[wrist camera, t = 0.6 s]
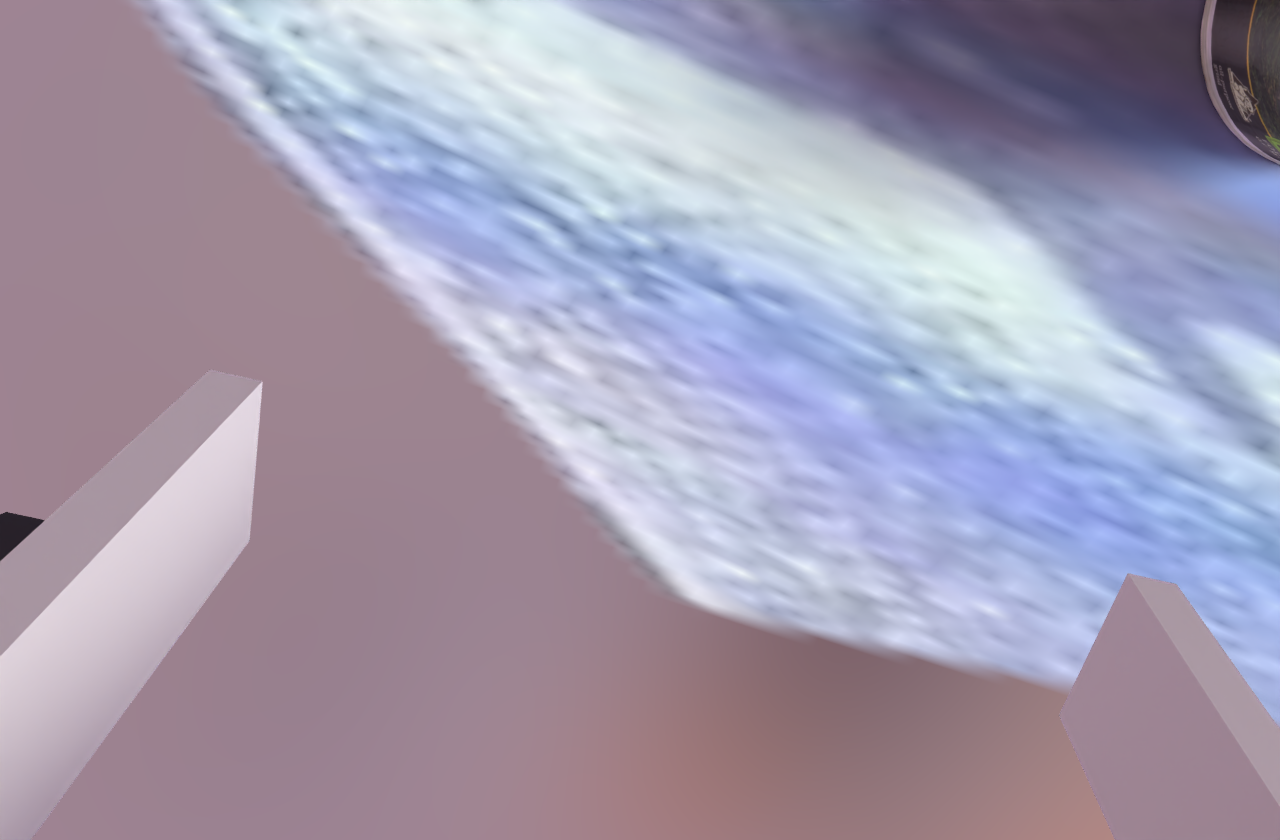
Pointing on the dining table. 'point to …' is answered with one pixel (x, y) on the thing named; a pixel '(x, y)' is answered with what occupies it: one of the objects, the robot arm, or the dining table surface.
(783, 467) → the dining table surface
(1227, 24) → the coffee can
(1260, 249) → the dining table surface
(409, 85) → the dining table surface
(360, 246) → the dining table surface
